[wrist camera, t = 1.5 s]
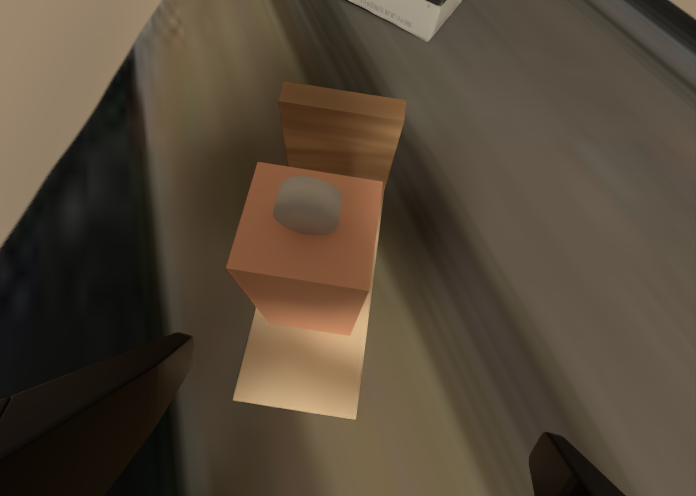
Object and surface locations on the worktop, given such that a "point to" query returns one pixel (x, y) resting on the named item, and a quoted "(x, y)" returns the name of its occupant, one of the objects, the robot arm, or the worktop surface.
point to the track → (374, 164)
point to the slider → (307, 246)
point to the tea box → (412, 14)
